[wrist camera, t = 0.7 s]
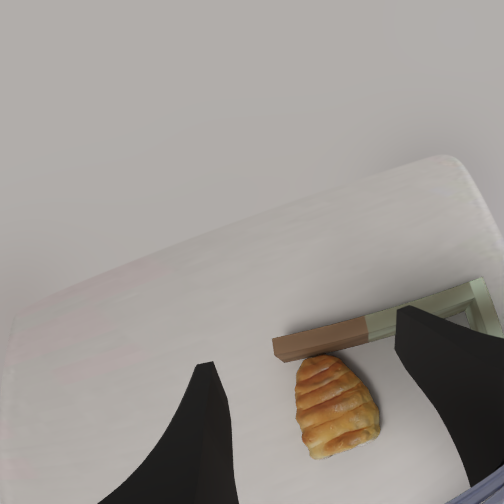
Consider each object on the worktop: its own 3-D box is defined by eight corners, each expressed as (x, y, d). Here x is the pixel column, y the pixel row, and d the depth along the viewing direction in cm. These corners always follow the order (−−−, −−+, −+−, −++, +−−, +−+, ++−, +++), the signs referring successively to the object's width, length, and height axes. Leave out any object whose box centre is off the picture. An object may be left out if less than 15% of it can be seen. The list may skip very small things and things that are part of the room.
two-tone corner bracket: (509, 432, 17) (525, 432, 14) (302, 494, 22) (294, 503, 19) (472, 292, 25) (482, 276, 22) (282, 347, 30) (272, 338, 27)
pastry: (282, 373, 28) (271, 366, 25) (348, 344, 28) (346, 333, 25) (315, 463, 23) (308, 469, 20) (387, 433, 22) (391, 435, 19)
